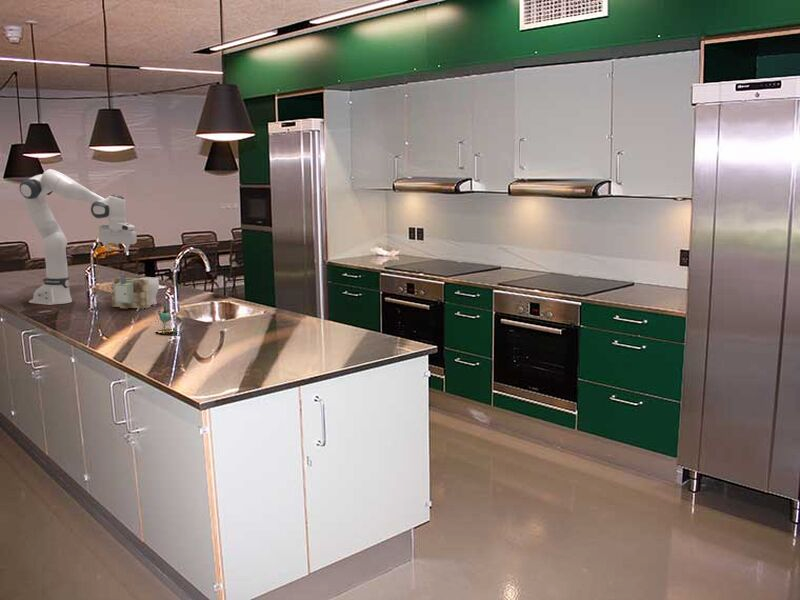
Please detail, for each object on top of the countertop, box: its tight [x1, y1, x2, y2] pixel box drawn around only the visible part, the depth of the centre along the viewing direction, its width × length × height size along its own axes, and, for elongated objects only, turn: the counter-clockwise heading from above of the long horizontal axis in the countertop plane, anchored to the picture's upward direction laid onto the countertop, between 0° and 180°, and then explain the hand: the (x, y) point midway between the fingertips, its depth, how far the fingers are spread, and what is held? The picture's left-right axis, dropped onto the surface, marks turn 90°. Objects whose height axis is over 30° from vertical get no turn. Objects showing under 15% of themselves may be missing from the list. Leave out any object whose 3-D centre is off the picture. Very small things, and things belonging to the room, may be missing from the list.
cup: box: [139, 276, 160, 305], centre depth 426 cm, size 11×11×15 cm
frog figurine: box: [154, 304, 179, 334], centre depth 357 cm, size 10×18×15 cm, turn 41°
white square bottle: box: [114, 273, 135, 303], centre depth 410 cm, size 8×9×15 cm
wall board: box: [111, 277, 152, 309], centre depth 416 cm, size 20×7×16 cm, turn 82°
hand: (117, 251), depth 406 cm, fingers open, 8 cm apart
